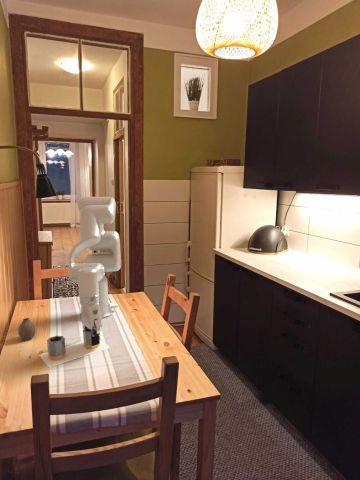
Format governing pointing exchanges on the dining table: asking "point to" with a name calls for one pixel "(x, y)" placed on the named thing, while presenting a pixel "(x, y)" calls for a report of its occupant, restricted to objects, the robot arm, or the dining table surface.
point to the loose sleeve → (88, 338)
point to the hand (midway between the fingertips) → (91, 341)
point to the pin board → (73, 353)
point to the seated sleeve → (56, 348)
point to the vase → (26, 329)
